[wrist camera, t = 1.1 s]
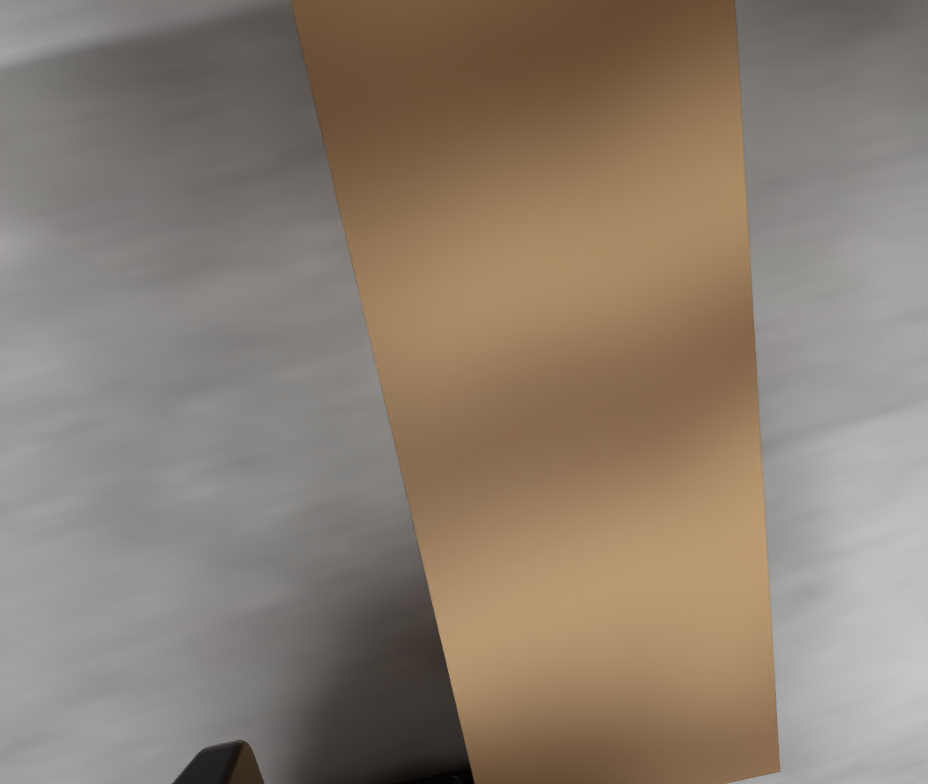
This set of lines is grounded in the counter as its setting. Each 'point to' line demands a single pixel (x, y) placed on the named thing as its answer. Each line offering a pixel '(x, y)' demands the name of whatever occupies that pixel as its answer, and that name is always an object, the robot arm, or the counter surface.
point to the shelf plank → (566, 367)
